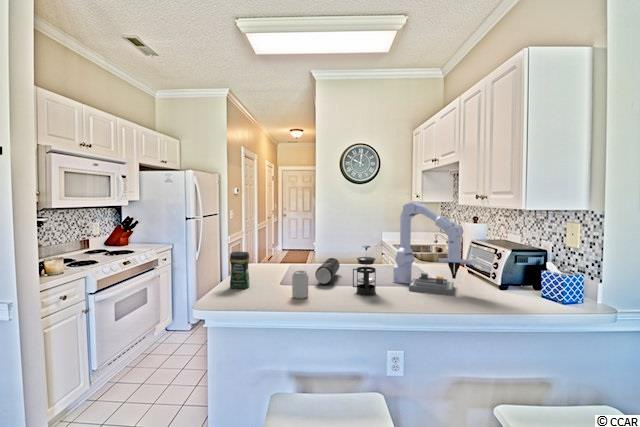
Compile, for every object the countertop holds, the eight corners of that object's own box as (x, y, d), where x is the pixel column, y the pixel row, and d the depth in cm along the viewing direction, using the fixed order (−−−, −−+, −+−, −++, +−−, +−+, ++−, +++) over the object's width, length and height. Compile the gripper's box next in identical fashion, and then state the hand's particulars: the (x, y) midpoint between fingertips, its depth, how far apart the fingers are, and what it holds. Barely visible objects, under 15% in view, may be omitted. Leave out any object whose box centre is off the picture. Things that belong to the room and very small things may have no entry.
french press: (376, 290, 175) (376, 244, 174) (378, 295, 166) (378, 247, 164) (352, 290, 176) (352, 244, 174) (353, 295, 166) (353, 247, 165)
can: (310, 295, 167) (310, 270, 166) (304, 300, 160) (304, 274, 159) (296, 294, 169) (295, 269, 168) (289, 298, 162) (289, 272, 161)
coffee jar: (227, 289, 178) (227, 252, 177) (233, 285, 186) (233, 250, 185) (246, 289, 176) (245, 253, 175) (251, 285, 184) (251, 250, 183)
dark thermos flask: (340, 274, 209) (340, 257, 209) (332, 287, 182) (332, 267, 181) (324, 274, 211) (324, 257, 210) (314, 286, 184) (314, 266, 183)
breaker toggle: (436, 286, 172) (436, 277, 172) (436, 285, 175) (436, 276, 175) (442, 287, 171) (442, 278, 171) (443, 285, 174) (443, 276, 174)
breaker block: (408, 290, 174) (409, 276, 174) (413, 283, 189) (413, 270, 189) (452, 295, 167) (452, 280, 166) (453, 286, 181) (453, 273, 181)
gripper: (437, 250, 169) (437, 278, 170) (470, 252, 163) (470, 281, 164) (439, 248, 175) (438, 275, 176) (470, 250, 170) (470, 278, 170)
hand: (454, 278), depth 170 cm, fingers closed
